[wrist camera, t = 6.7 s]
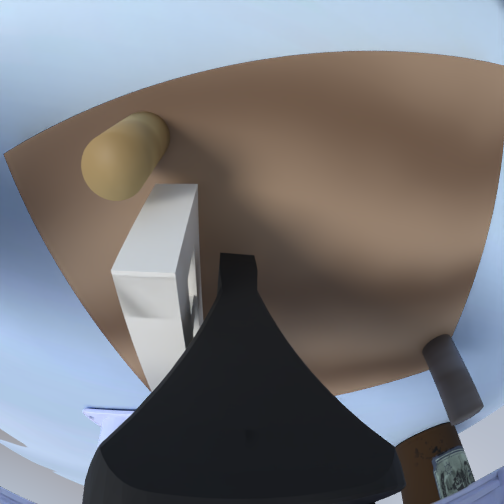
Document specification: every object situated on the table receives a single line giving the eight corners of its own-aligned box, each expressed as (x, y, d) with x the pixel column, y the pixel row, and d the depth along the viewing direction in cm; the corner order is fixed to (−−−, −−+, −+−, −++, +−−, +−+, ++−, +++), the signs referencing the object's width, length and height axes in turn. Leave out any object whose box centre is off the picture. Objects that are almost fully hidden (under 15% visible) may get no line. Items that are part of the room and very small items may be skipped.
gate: (209, 391, 15) (207, 458, 12) (186, 390, 15) (181, 456, 12) (197, 183, 8) (175, 273, 5) (155, 183, 8) (111, 270, 5)
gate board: (431, 355, 18) (464, 435, 12) (173, 402, 19) (166, 488, 14) (488, 62, 7) (626, 114, 2) (18, 144, 8) (-104, 243, 3)
